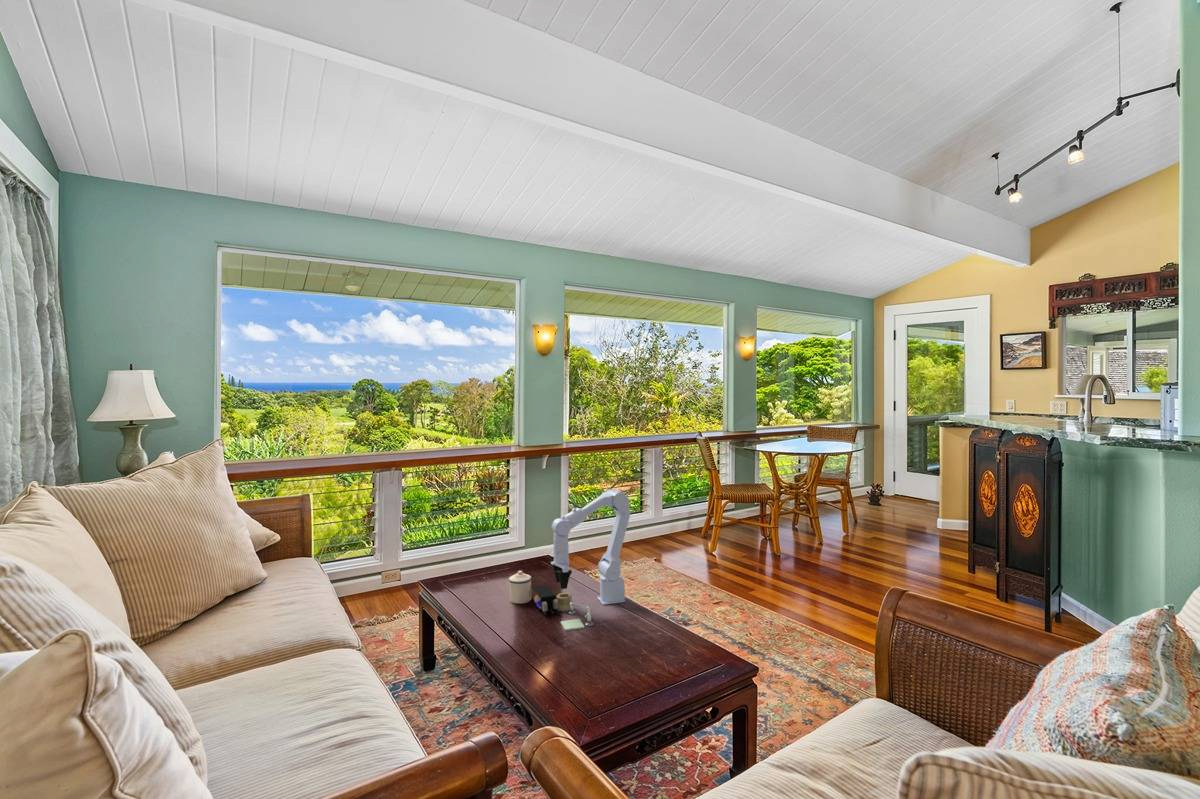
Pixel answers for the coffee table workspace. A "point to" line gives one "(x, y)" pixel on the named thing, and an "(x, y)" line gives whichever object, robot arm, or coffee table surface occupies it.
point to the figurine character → (545, 598)
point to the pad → (572, 624)
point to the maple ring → (564, 601)
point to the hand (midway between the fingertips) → (561, 585)
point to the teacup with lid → (520, 588)
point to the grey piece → (587, 615)
